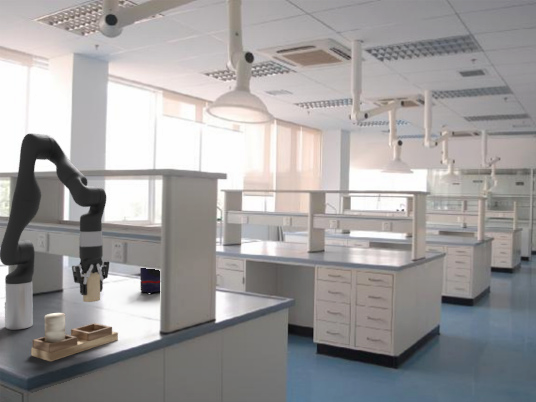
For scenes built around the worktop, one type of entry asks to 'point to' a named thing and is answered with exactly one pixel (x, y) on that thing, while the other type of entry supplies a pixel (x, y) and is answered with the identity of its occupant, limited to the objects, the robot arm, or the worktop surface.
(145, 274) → the navy upright block
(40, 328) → the worktop surface
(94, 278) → the candle
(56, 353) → the wooden double holder
